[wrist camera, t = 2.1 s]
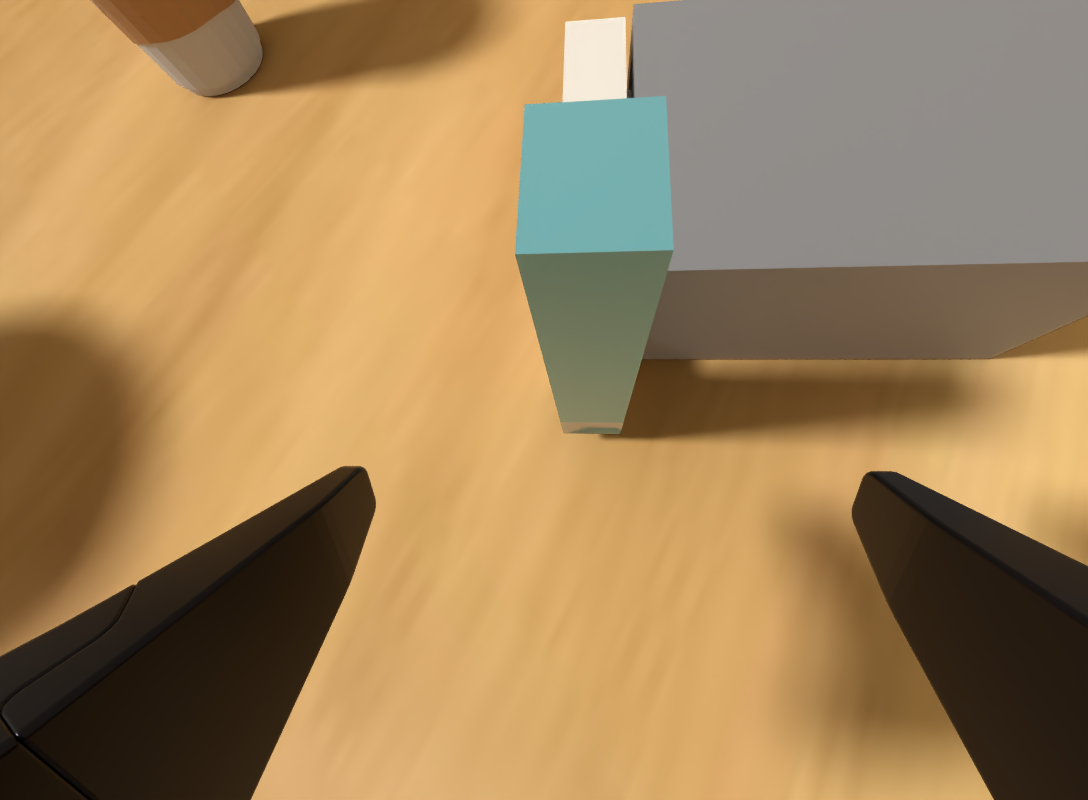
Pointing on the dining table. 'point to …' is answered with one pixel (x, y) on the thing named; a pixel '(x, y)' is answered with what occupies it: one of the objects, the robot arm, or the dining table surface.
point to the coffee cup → (192, 40)
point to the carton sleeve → (869, 175)
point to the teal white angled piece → (594, 227)
